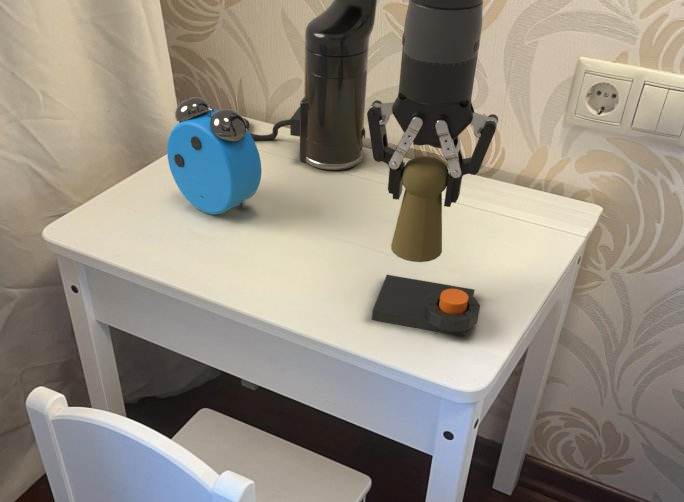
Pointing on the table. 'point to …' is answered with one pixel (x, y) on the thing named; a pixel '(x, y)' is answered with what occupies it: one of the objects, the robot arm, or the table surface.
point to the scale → (422, 306)
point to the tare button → (453, 301)
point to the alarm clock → (213, 157)
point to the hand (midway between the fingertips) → (422, 199)
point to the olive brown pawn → (421, 210)
